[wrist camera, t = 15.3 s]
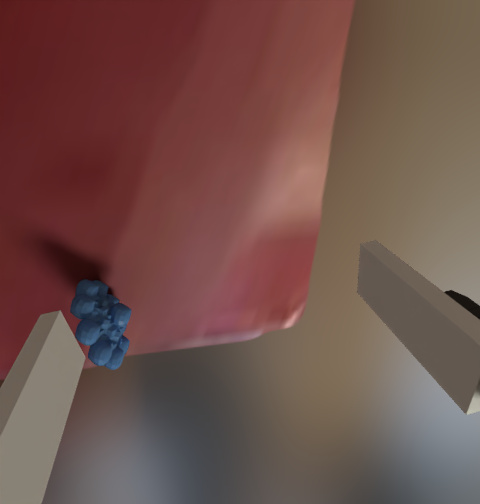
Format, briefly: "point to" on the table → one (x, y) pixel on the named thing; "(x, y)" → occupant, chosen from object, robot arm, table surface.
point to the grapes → (101, 323)
